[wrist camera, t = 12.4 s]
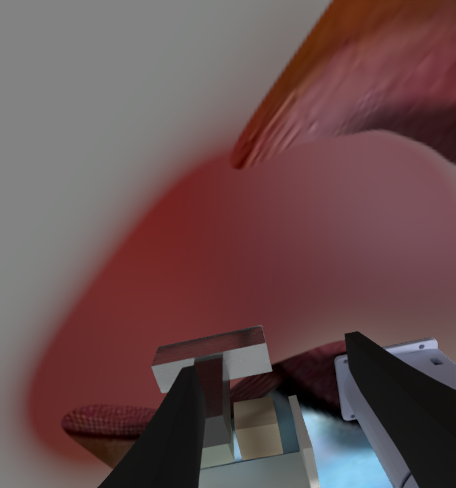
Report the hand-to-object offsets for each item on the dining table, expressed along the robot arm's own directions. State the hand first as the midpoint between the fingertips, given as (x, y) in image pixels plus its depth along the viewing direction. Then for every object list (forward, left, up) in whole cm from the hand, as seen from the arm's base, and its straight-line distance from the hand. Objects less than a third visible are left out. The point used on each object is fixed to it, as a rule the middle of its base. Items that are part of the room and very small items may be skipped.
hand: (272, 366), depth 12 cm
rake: (+5, +7, -11) cm, 14 cm away
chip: (+3, +16, -11) cm, 19 cm away
